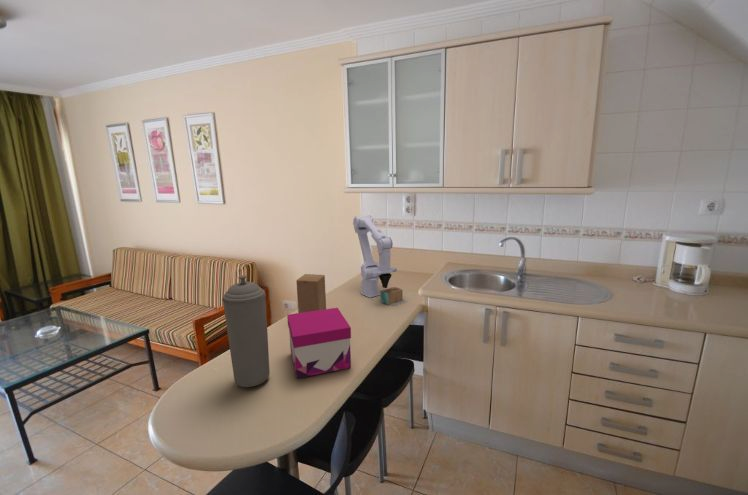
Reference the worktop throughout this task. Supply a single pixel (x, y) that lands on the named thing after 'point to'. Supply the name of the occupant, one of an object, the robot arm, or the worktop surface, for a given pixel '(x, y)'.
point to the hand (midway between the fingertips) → (384, 287)
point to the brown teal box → (391, 295)
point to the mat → (398, 302)
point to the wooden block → (311, 293)
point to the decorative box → (319, 342)
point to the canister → (247, 332)
